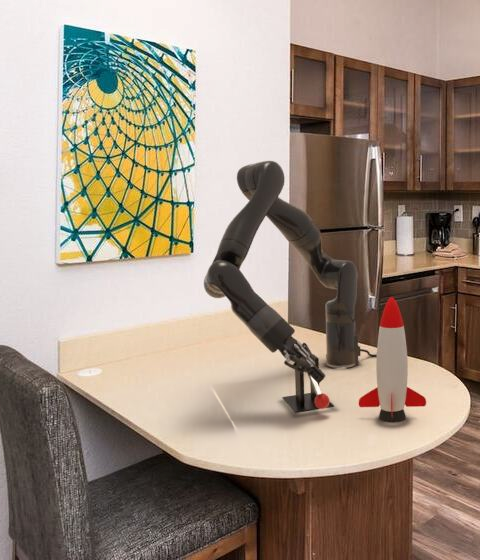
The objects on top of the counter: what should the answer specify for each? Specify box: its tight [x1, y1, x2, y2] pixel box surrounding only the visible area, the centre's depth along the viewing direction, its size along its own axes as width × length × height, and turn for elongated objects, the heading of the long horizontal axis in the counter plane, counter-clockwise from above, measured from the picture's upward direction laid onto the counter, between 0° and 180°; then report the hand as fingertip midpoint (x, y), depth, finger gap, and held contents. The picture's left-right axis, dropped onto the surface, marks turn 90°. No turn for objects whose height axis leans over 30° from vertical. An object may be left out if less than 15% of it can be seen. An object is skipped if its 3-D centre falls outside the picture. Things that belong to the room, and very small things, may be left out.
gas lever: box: [301, 358, 331, 410], centre depth 152 cm, size 16×4×4 cm
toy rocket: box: [358, 296, 427, 424], centre depth 147 cm, size 11×11×30 cm
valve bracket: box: [282, 353, 335, 414], centre depth 157 cm, size 12×10×13 cm
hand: (322, 379), depth 146 cm, fingers closed
